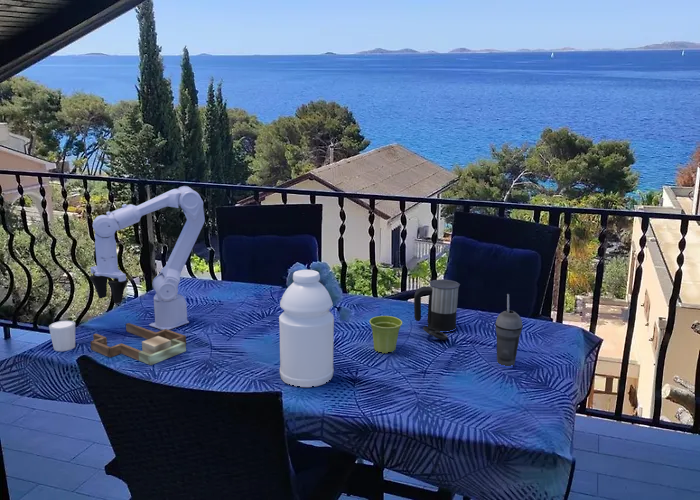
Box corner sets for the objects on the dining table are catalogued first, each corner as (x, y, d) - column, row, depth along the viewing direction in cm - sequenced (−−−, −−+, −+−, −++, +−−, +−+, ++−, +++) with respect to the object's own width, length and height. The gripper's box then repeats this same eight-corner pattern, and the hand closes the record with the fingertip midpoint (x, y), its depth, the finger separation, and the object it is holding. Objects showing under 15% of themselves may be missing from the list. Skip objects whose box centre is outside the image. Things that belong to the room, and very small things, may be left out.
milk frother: (448, 321, 203) (451, 278, 199) (472, 339, 188) (475, 292, 185) (408, 326, 199) (410, 281, 195) (429, 344, 184) (431, 296, 180)
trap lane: (138, 327, 194) (138, 319, 194) (195, 347, 180) (195, 339, 179) (82, 346, 179) (82, 338, 179) (139, 369, 165) (139, 361, 164)
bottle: (312, 393, 153) (312, 284, 146) (268, 379, 160) (266, 274, 153) (343, 372, 165) (344, 270, 158) (301, 360, 172) (300, 262, 165)
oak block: (159, 348, 179) (158, 335, 178) (171, 353, 176) (170, 340, 175) (142, 355, 174) (141, 341, 173) (155, 360, 171) (154, 346, 170)
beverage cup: (504, 372, 166) (510, 301, 161) (486, 362, 172) (491, 293, 167) (525, 367, 169) (531, 297, 164) (506, 357, 175) (512, 289, 171)
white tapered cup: (67, 353, 175) (65, 329, 173) (45, 350, 176) (43, 327, 174) (82, 343, 181) (80, 321, 179) (61, 341, 182) (59, 319, 181)
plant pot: (405, 347, 182) (407, 318, 180) (394, 358, 174) (395, 329, 172) (376, 341, 186) (377, 313, 184) (363, 352, 178) (364, 324, 176)
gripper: (79, 255, 185) (83, 298, 188) (109, 262, 177) (113, 308, 180) (101, 250, 190) (104, 292, 194) (130, 257, 182) (134, 302, 186)
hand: (110, 300), depth 187 cm, fingers open, 7 cm apart
